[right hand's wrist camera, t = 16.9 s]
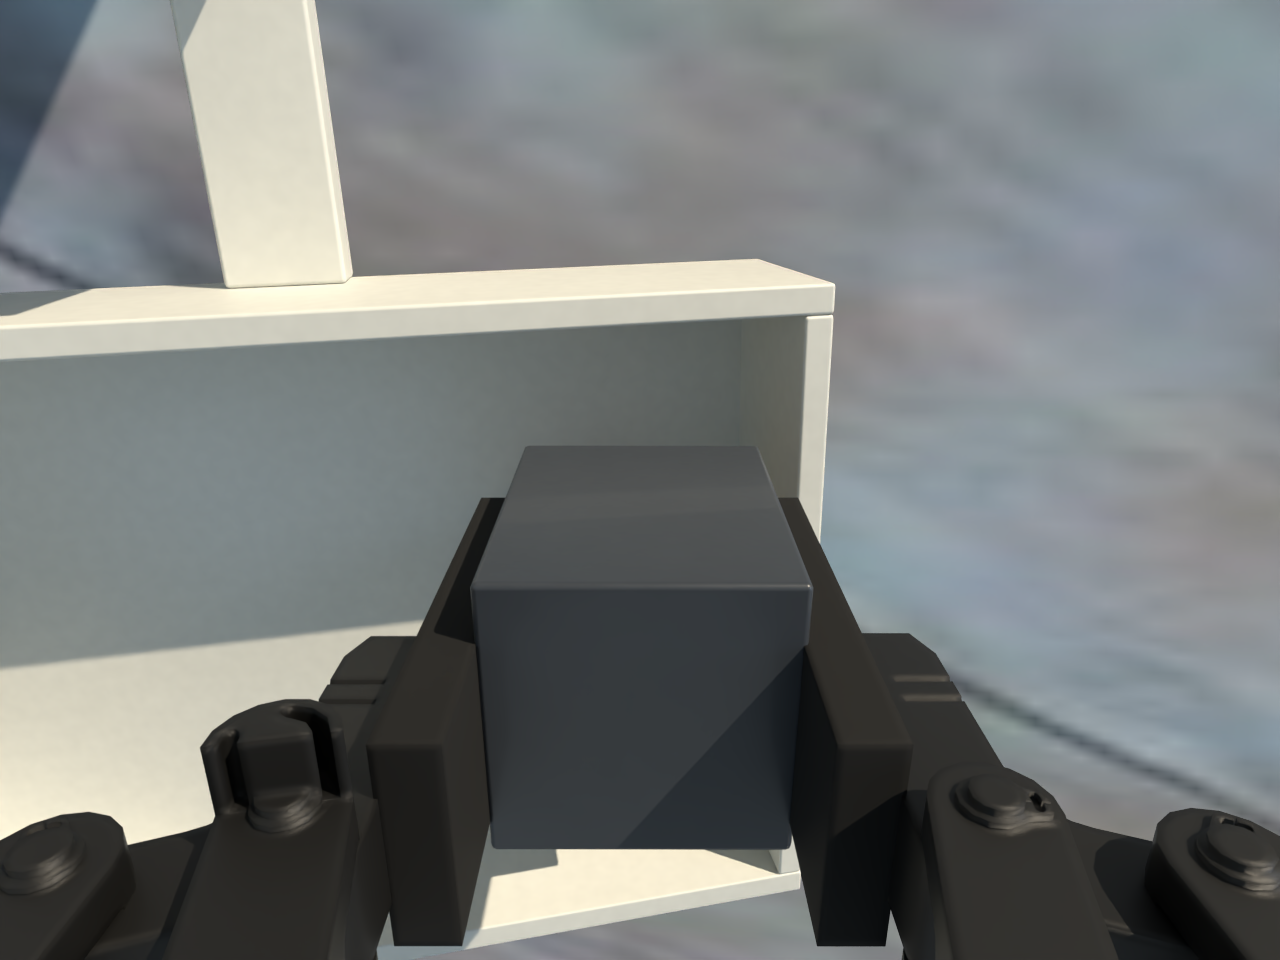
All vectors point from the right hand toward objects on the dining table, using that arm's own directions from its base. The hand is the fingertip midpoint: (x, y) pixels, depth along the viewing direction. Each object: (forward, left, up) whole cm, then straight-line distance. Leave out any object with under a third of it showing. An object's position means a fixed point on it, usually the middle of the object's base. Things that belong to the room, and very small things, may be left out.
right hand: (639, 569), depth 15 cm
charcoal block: (0, 0, 0) cm, 0 cm away
